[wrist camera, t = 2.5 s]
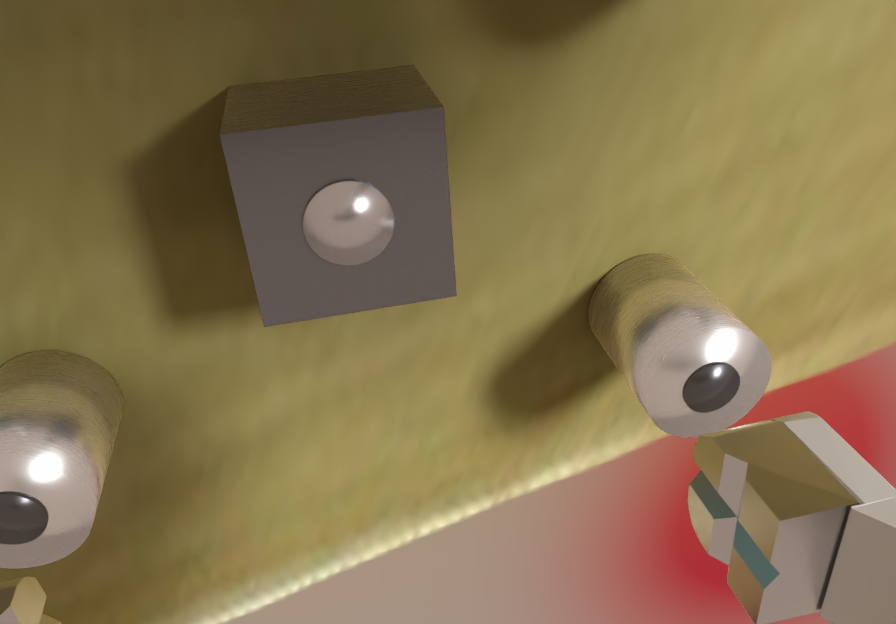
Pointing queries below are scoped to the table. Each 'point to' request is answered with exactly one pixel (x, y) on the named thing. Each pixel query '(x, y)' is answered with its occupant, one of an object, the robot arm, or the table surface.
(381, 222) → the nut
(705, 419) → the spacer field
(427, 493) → the table surface
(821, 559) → the robot arm
